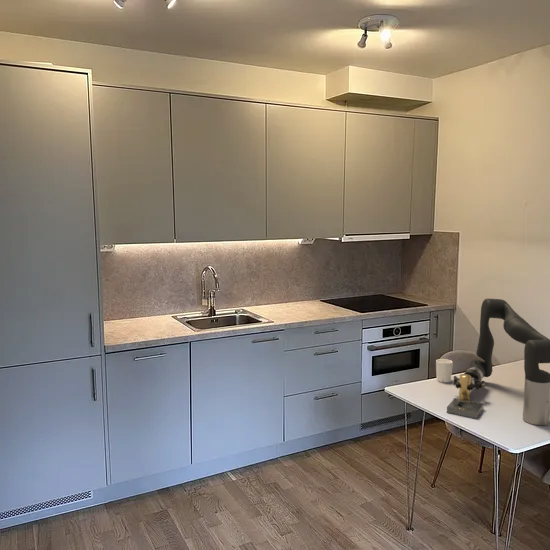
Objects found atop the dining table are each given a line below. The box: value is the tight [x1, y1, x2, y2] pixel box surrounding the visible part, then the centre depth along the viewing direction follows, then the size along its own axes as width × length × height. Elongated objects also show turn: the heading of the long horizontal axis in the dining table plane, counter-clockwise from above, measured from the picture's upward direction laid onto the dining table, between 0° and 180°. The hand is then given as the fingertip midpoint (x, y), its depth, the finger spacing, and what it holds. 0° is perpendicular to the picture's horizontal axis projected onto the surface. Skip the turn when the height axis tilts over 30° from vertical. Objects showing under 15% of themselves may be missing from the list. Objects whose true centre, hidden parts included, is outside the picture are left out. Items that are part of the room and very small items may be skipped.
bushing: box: [458, 373, 471, 401], centre depth 221 cm, size 5×5×12 cm
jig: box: [446, 398, 485, 420], centre depth 211 cm, size 12×12×2 cm
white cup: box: [435, 358, 453, 383], centre depth 250 cm, size 8×8×10 cm
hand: (463, 387), depth 219 cm, fingers closed on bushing, 4 cm apart
